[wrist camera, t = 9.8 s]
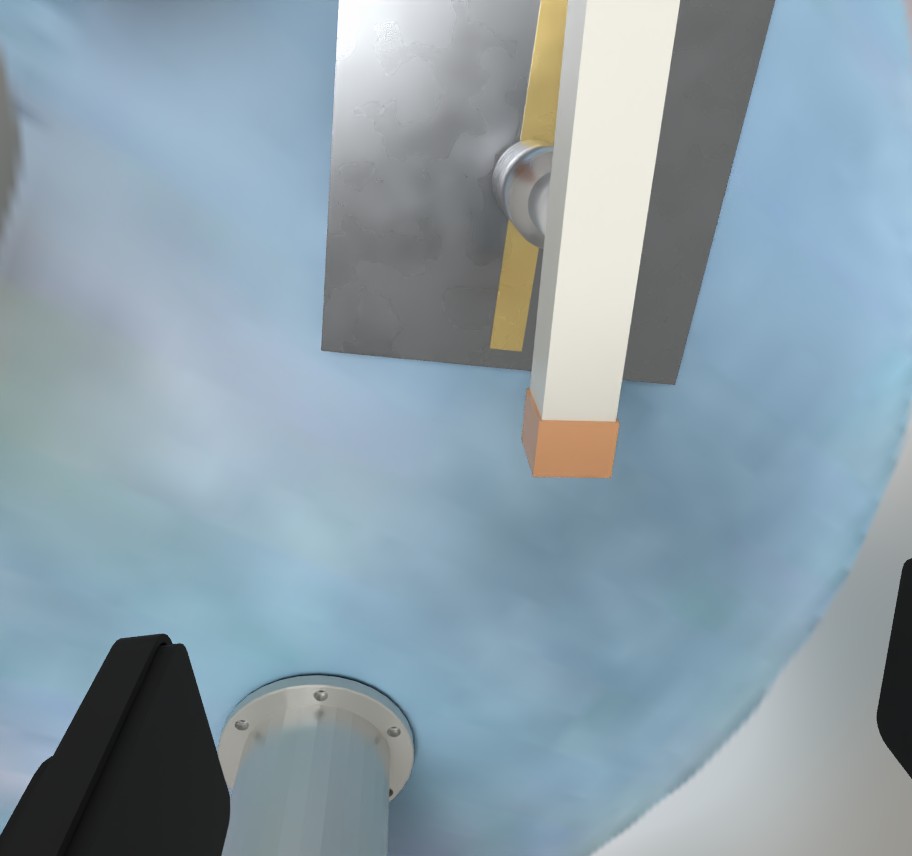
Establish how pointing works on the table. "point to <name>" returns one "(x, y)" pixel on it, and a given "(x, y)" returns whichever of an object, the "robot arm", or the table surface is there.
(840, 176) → the table surface
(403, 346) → the post base
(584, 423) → the t handle
